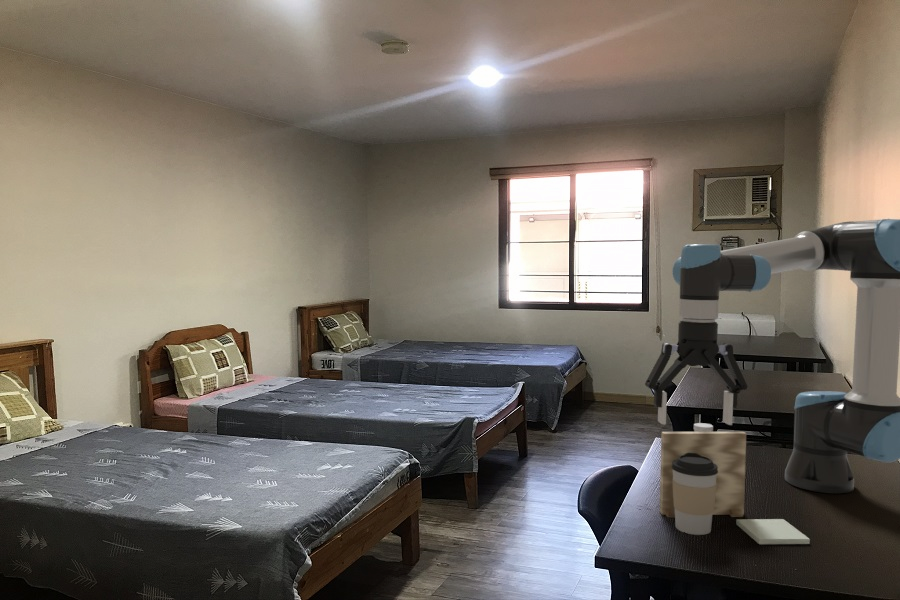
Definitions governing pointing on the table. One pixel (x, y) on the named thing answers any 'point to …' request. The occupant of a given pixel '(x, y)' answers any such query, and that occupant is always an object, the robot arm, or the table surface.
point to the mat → (772, 531)
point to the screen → (723, 452)
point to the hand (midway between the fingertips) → (694, 423)
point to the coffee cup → (694, 493)
